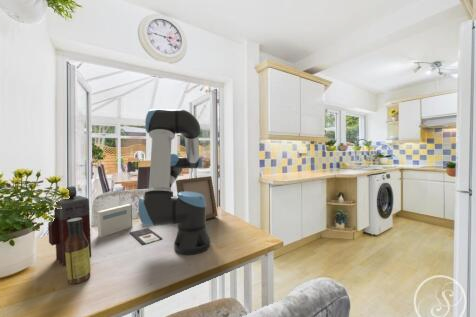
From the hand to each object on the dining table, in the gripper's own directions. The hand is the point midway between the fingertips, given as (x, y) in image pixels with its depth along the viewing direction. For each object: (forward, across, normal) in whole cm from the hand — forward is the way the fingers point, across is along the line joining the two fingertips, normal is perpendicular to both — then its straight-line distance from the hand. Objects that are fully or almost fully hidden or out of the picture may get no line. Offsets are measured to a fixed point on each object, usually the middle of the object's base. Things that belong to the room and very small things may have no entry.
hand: (145, 214), depth 128 cm
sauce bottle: (+37, -30, +31) cm, 57 cm away
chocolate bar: (+13, -19, +7) cm, 24 cm away
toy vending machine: (+33, -12, +28) cm, 45 cm away
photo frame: (-9, -23, -15) cm, 29 cm away
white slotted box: (+15, 0, +10) cm, 18 cm away
